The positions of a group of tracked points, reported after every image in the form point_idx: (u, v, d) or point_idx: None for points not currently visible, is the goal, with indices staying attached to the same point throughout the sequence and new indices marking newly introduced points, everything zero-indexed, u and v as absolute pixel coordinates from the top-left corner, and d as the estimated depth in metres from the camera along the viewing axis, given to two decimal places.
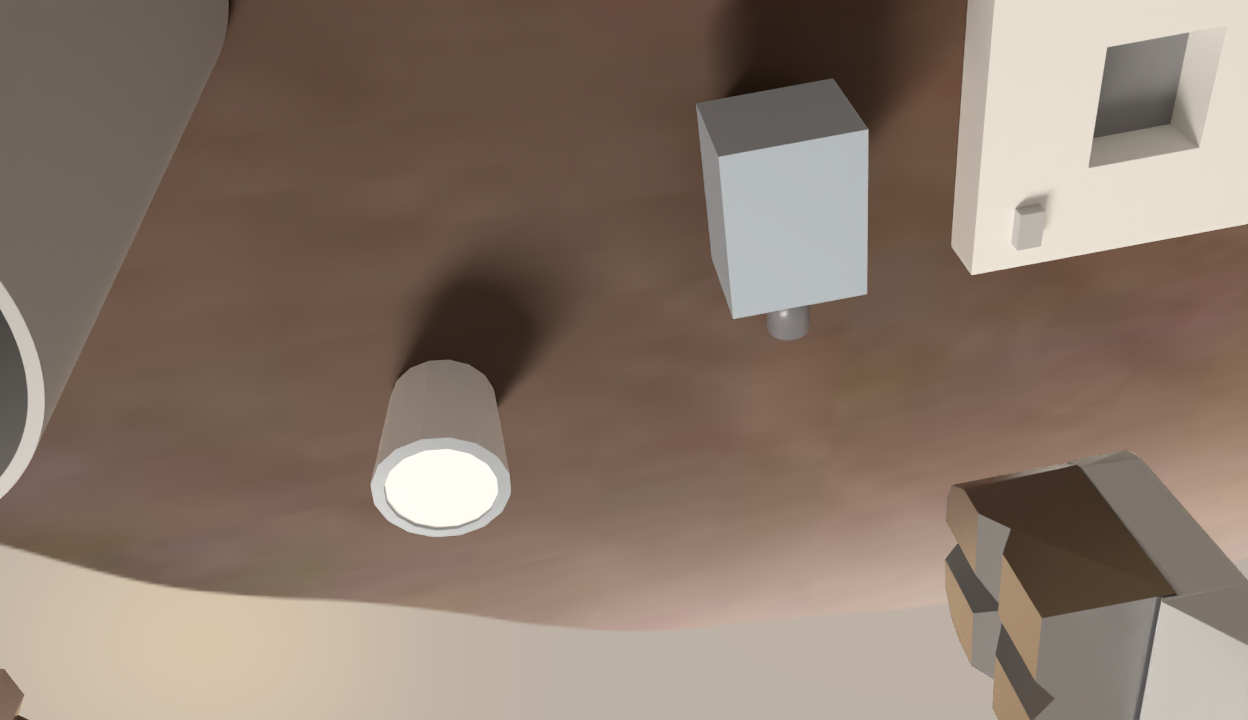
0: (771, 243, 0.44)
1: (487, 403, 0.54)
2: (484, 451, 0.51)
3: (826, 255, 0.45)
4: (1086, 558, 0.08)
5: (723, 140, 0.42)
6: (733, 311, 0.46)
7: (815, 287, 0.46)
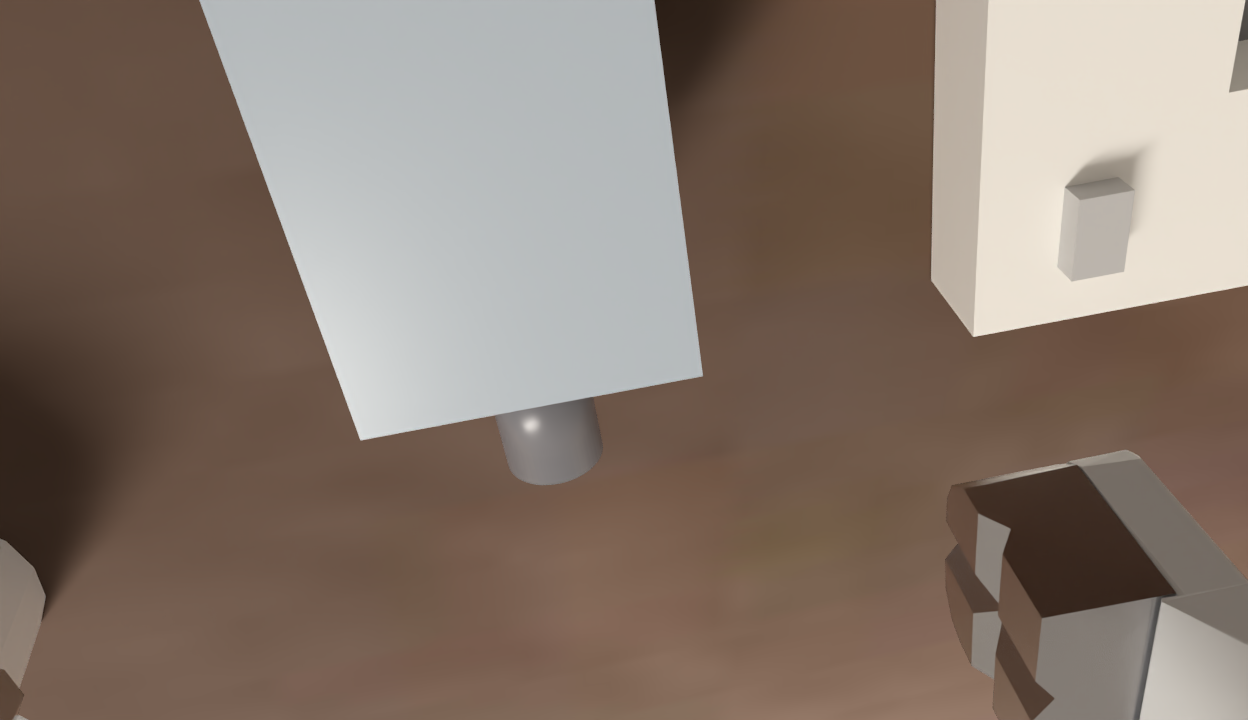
0: (415, 238, 0.16)
1: None
2: None
3: (579, 274, 0.17)
4: (1085, 560, 0.08)
5: None
6: (356, 421, 0.18)
7: (563, 359, 0.18)
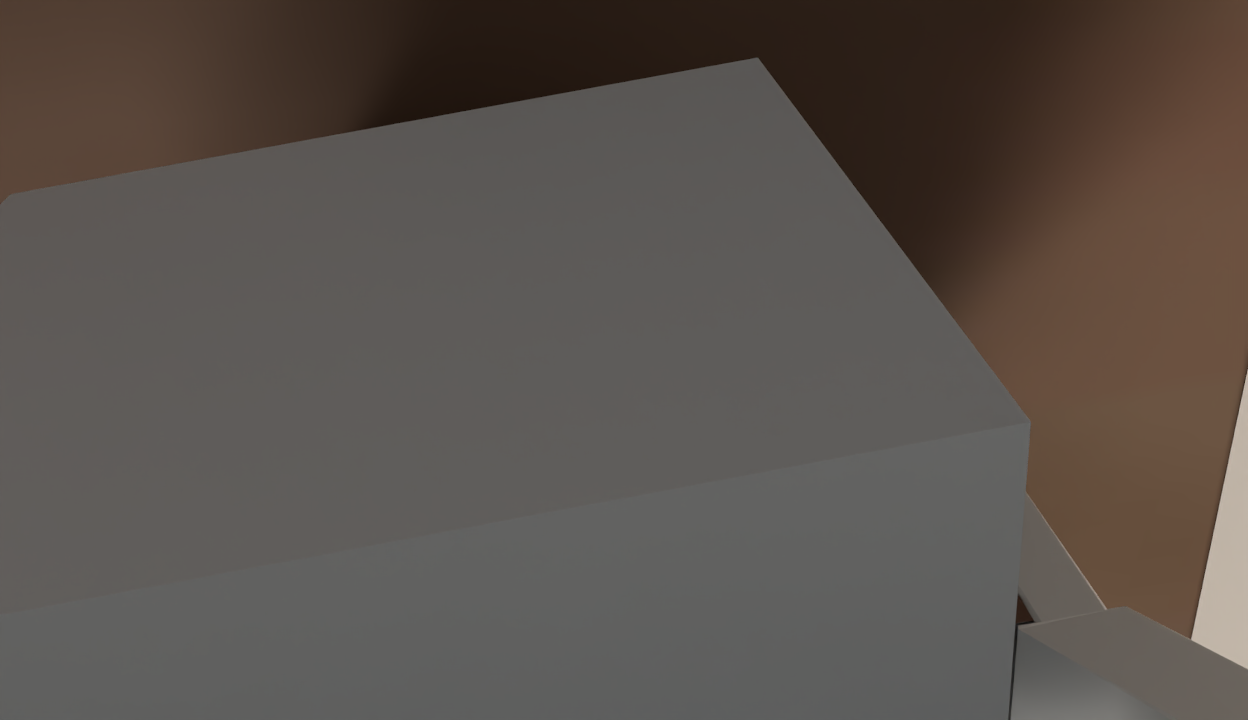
0: None
1: None
2: None
3: None
4: None
5: None
6: None
7: None
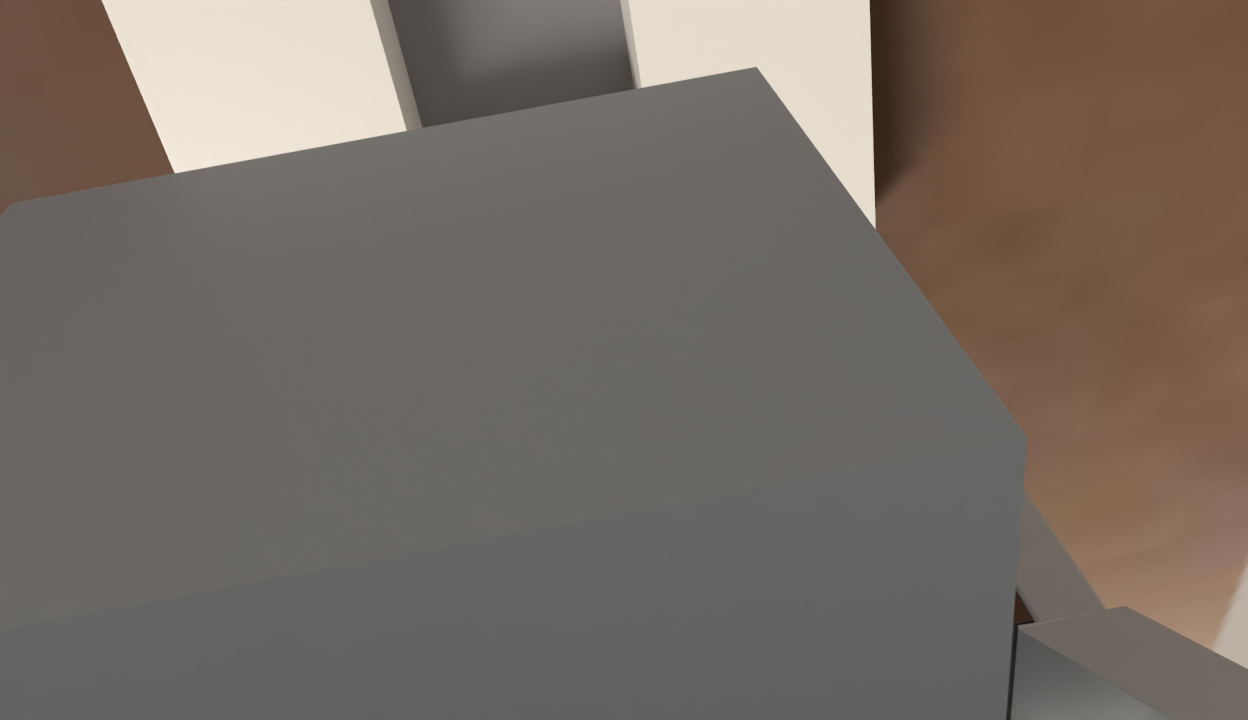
0: None
1: None
2: None
3: None
4: None
5: None
6: None
7: None
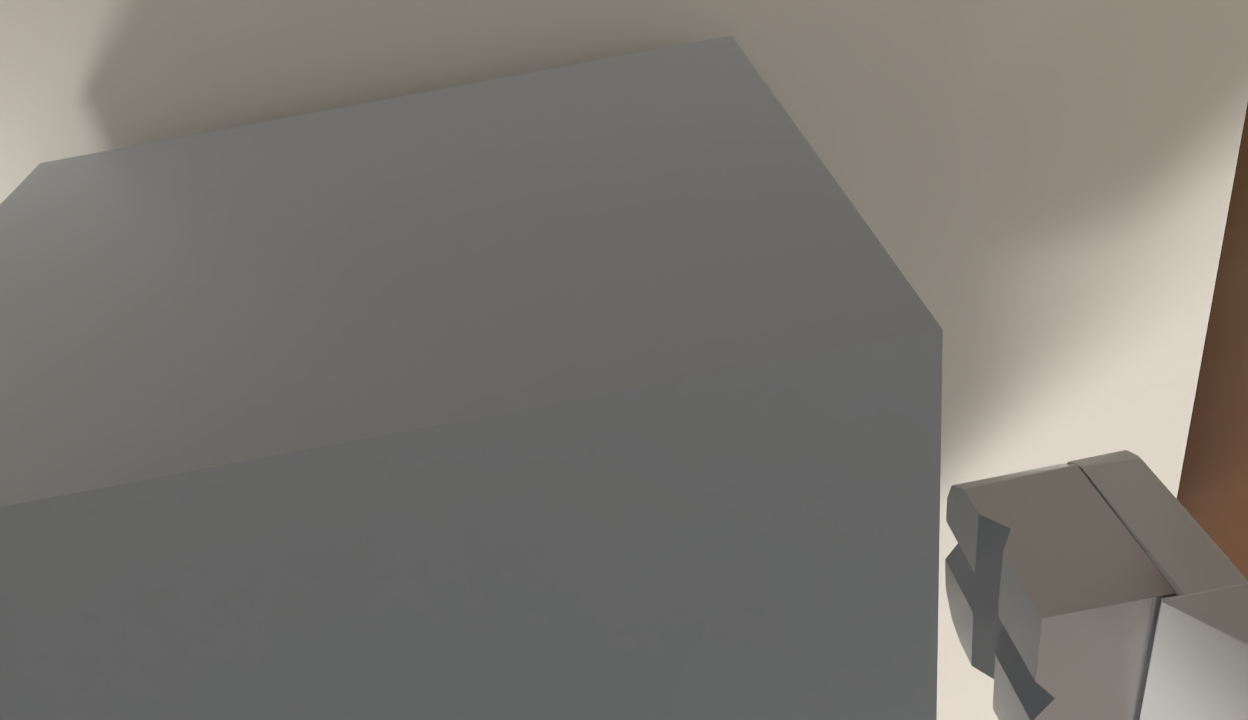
0: None
1: None
2: None
3: None
4: (1085, 560, 0.08)
5: None
6: None
7: None
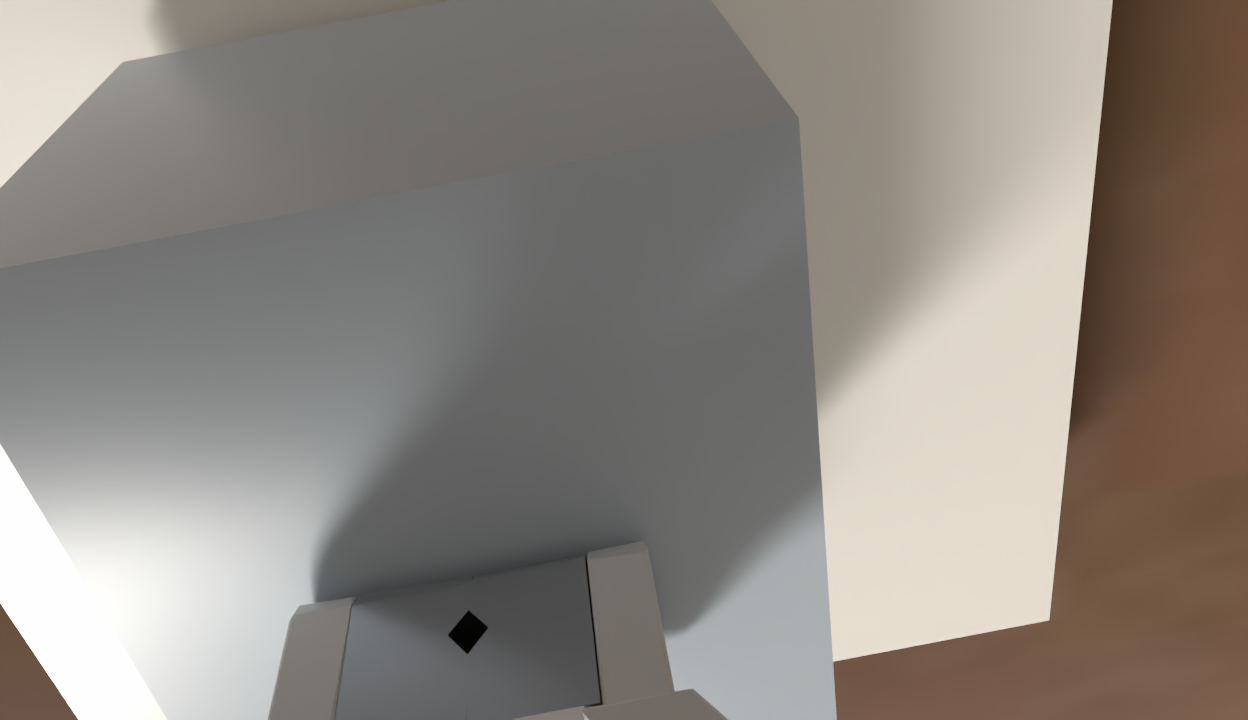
0: None
1: None
2: None
3: None
4: (537, 663, 0.08)
5: (39, 196, 0.08)
6: None
7: None
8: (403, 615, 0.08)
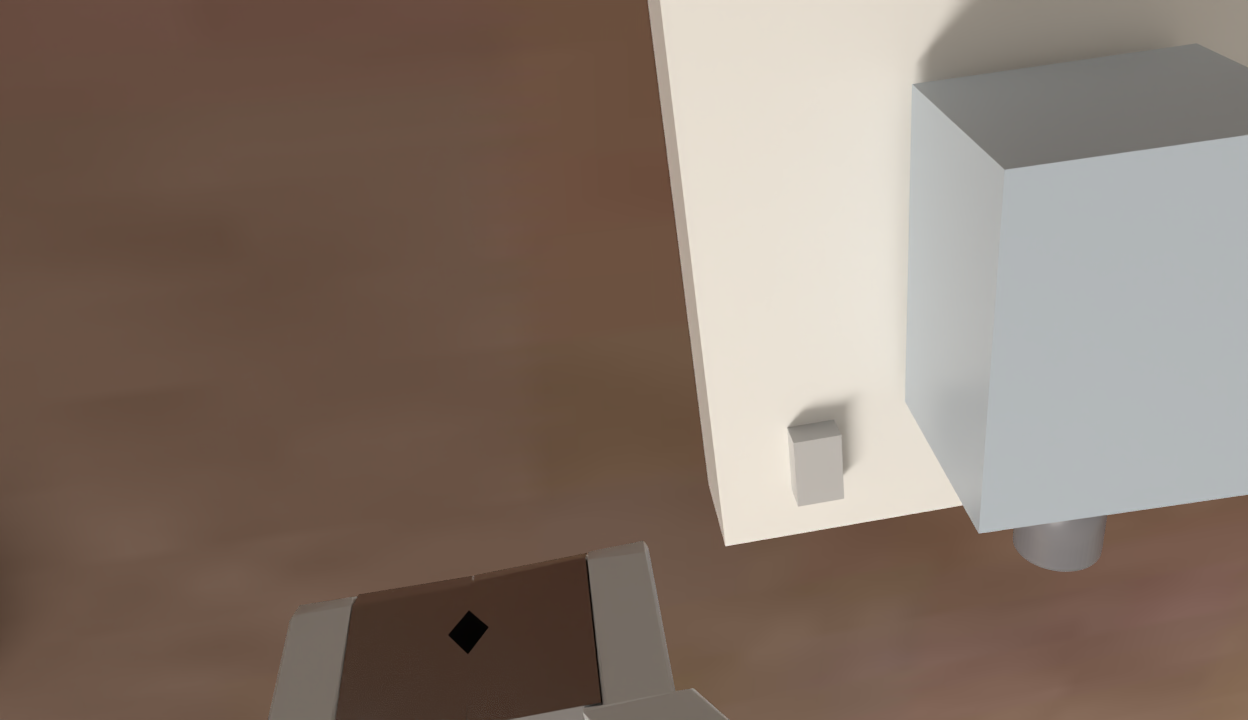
0: (1087, 376, 0.20)
1: None
2: None
3: (1200, 408, 0.21)
4: (540, 663, 0.08)
5: (1002, 140, 0.19)
6: (981, 518, 0.22)
7: (1161, 474, 0.21)
8: (403, 615, 0.08)
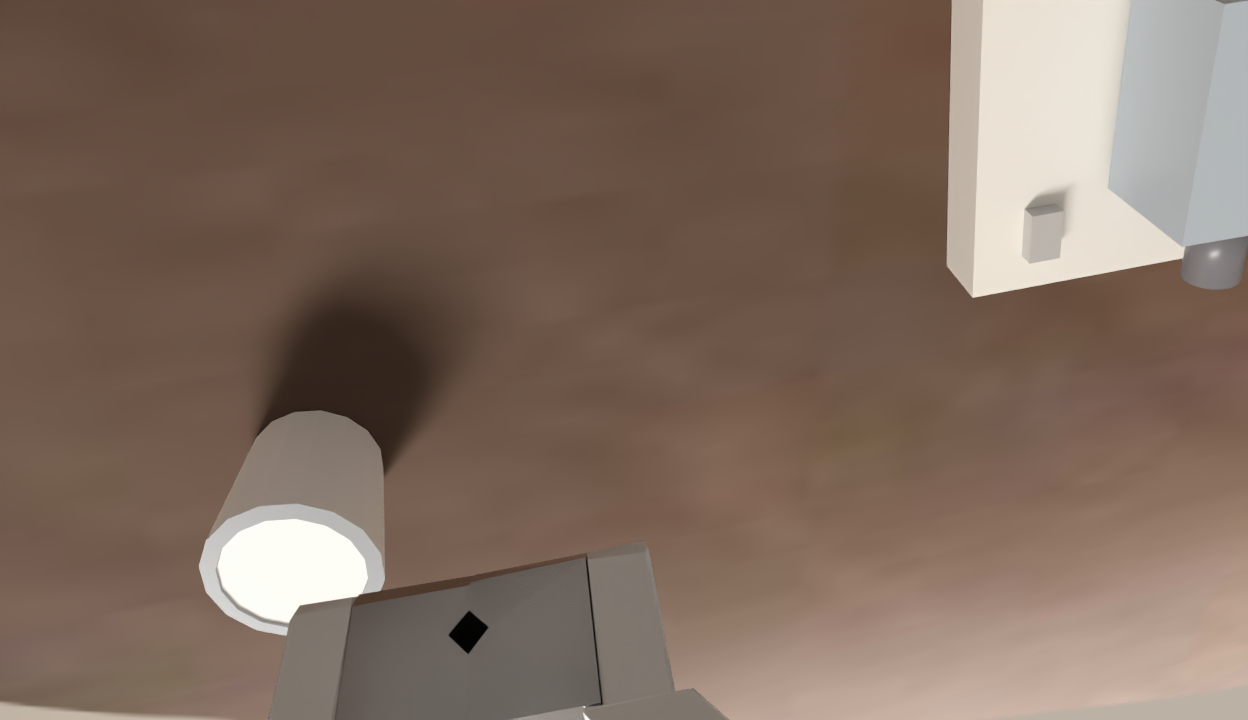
0: None
1: (363, 464, 0.43)
2: (344, 522, 0.39)
3: None
4: (538, 663, 0.08)
5: None
6: (1184, 236, 0.35)
7: None
8: (403, 615, 0.08)
